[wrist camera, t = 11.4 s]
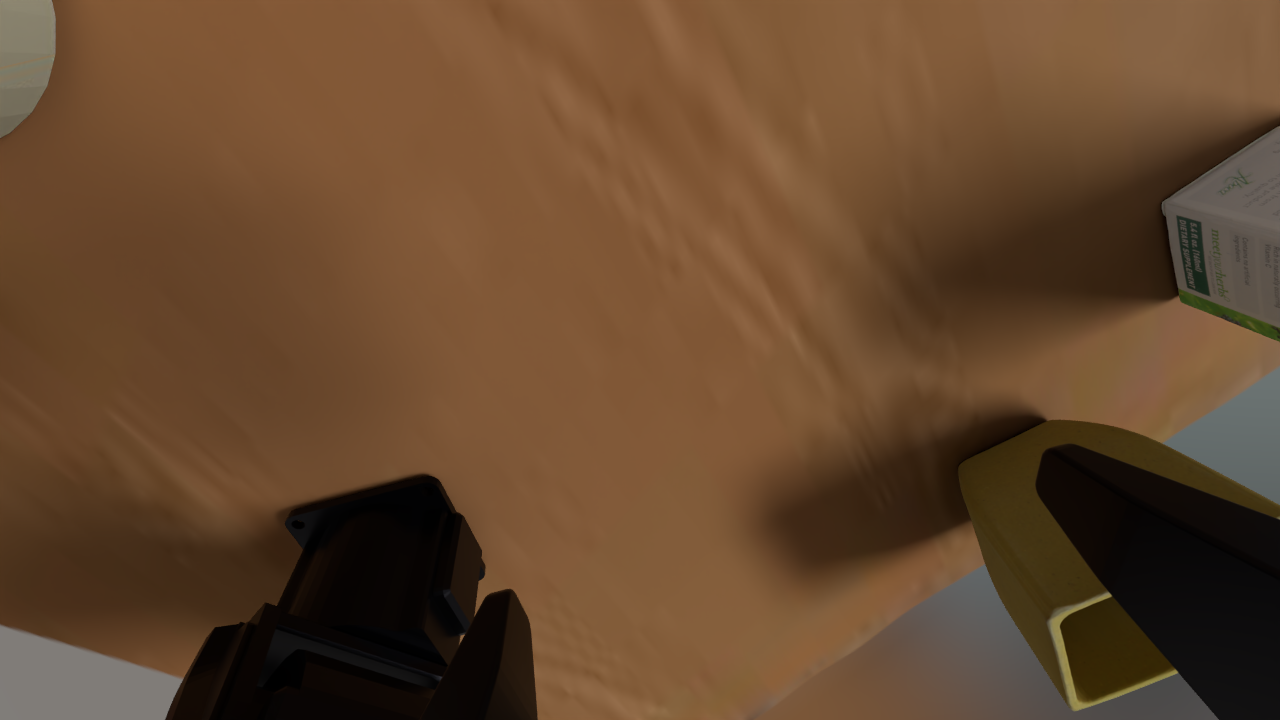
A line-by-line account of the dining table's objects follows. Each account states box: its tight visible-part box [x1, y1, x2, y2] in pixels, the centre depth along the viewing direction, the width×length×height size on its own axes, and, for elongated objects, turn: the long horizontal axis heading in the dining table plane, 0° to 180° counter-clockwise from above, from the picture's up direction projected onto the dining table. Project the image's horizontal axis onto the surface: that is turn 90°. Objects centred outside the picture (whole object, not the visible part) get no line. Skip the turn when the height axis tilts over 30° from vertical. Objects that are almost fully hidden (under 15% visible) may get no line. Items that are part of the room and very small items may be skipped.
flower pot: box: [958, 420, 1280, 711], centre depth 25 cm, size 9×9×9 cm
